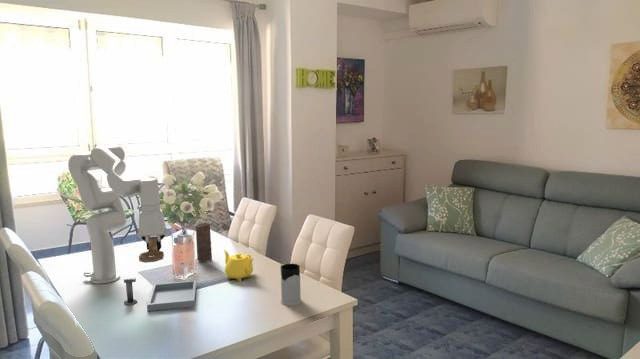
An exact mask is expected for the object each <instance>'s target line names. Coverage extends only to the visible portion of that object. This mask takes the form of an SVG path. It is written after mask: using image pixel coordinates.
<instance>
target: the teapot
mask: <svg viewBox="0 0 640 359" xmlns="http://www.w3.org/2000/svg"><path fill="white" fill-rule="evenodd" d="M223 251H224V254H225V266H224V273H225V275H226V276H227V279H230V280H231V279H236V282H242V279H243V278H244V279H245V278H250V277H251V274H252V273H253V272H254V268H253V260H254V259H255V257H253V258H252V255H251V254H249V253H248V254H242V253H241V252H238V253H235V254H234V255H232V256H230V254H229V252H228V251H227V250H226V249H225V250H223Z"/></svg>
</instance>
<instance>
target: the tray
mask: <svg viewBox="0 0 640 359" xmlns="http://www.w3.org/2000/svg"><path fill="white" fill-rule="evenodd" d="M196 295H197V280H196V279H195V280H186V281H185V280H183V281H176V282H175V281H174V282H163V283H162V282H161V283H154V284H153V286H152V288H151V290H150V295H149V298H148V300H147V303H146V310H147V313H150V312H151V313H152V312H162V311H172V310H180V309H191V308H192V309H193V308H195V307H196V306H195V305H196V297H197V296H196Z"/></svg>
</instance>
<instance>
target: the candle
mask: <svg viewBox="0 0 640 359" xmlns="http://www.w3.org/2000/svg"><path fill="white" fill-rule="evenodd" d="M195 238H196V260H197V261H198V262H208V261H212V260H213V253H212V252H213V251H212V239H211V238H212V237H211V224H210V222H199V223H197V224H196V225H195Z"/></svg>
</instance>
